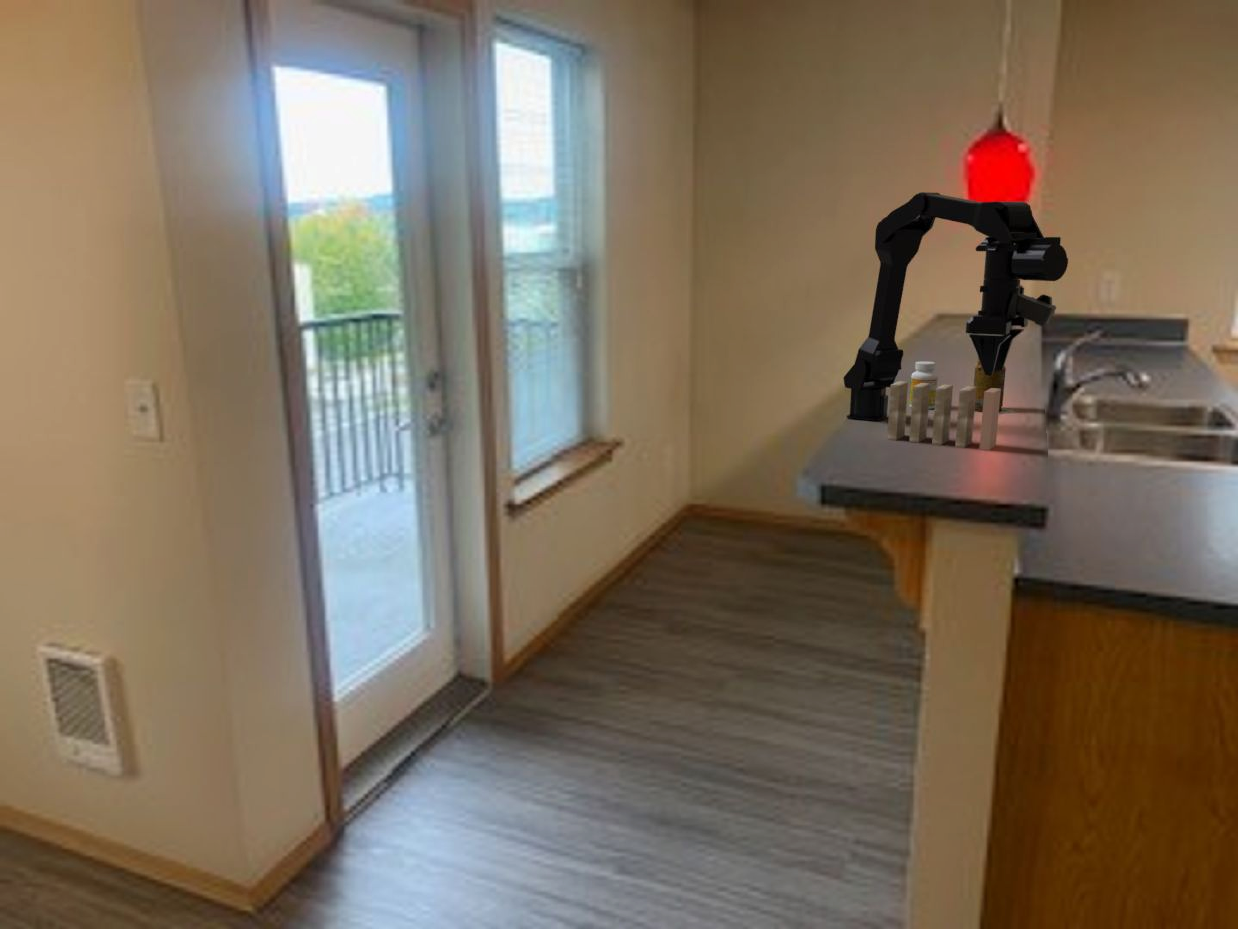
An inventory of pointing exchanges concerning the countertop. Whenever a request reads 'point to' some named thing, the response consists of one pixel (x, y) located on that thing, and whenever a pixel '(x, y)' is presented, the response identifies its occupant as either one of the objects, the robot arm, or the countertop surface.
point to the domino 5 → (990, 418)
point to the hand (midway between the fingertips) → (994, 372)
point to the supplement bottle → (924, 380)
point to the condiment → (989, 386)
